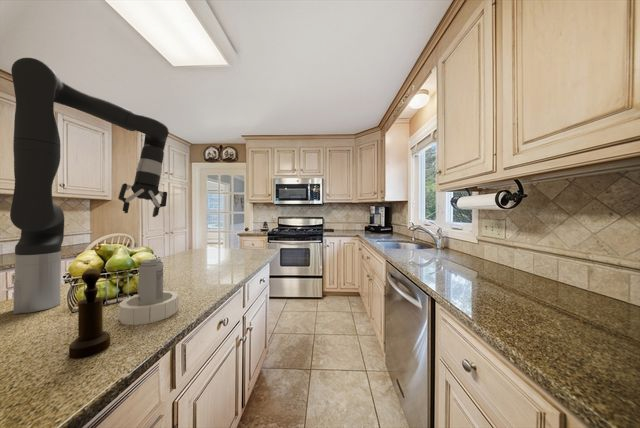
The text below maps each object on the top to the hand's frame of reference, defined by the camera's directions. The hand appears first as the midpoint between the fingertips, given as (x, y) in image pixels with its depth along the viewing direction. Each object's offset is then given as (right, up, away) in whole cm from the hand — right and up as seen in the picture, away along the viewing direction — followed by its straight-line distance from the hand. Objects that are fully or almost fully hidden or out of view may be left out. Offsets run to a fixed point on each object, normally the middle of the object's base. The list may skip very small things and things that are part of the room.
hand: (140, 215), depth 87 cm
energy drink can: (+16, -29, -16) cm, 37 cm away
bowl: (+16, -30, -16) cm, 37 cm away
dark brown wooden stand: (+16, -30, -35) cm, 49 cm away
